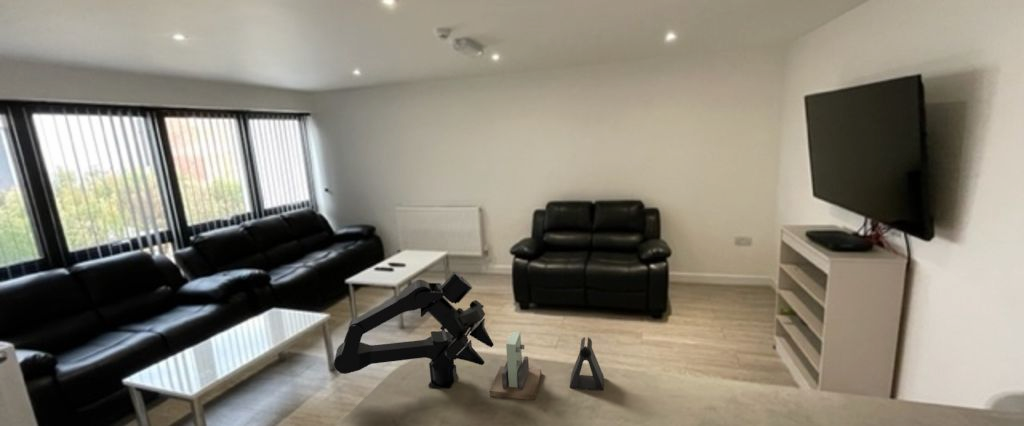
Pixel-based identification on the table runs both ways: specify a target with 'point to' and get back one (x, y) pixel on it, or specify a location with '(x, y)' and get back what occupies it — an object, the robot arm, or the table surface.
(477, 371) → the table surface
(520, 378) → the hinge base
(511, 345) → the door panel
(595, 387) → the grey triangular stand
